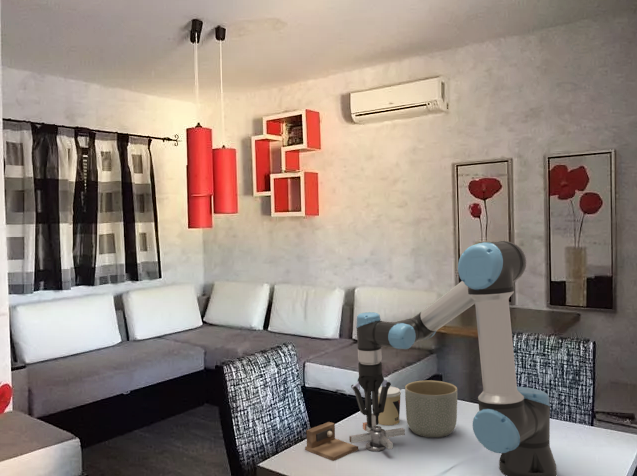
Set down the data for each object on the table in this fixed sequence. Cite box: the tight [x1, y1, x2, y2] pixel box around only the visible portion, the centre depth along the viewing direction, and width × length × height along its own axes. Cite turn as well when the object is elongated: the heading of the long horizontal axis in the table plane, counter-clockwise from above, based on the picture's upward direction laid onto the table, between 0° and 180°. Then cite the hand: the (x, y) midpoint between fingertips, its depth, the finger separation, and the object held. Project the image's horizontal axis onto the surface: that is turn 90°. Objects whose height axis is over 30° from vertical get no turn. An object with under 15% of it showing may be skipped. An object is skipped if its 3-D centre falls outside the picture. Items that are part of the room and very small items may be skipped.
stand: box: [304, 421, 359, 462], centre depth 180 cm, size 20×21×7 cm
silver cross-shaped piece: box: [349, 421, 406, 453], centre depth 181 cm, size 18×18×6 cm
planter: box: [404, 379, 458, 438], centre depth 194 cm, size 17×17×15 cm
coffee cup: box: [378, 386, 402, 426], centre depth 203 cm, size 9×9×12 cm
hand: (373, 435), depth 187 cm, fingers closed
